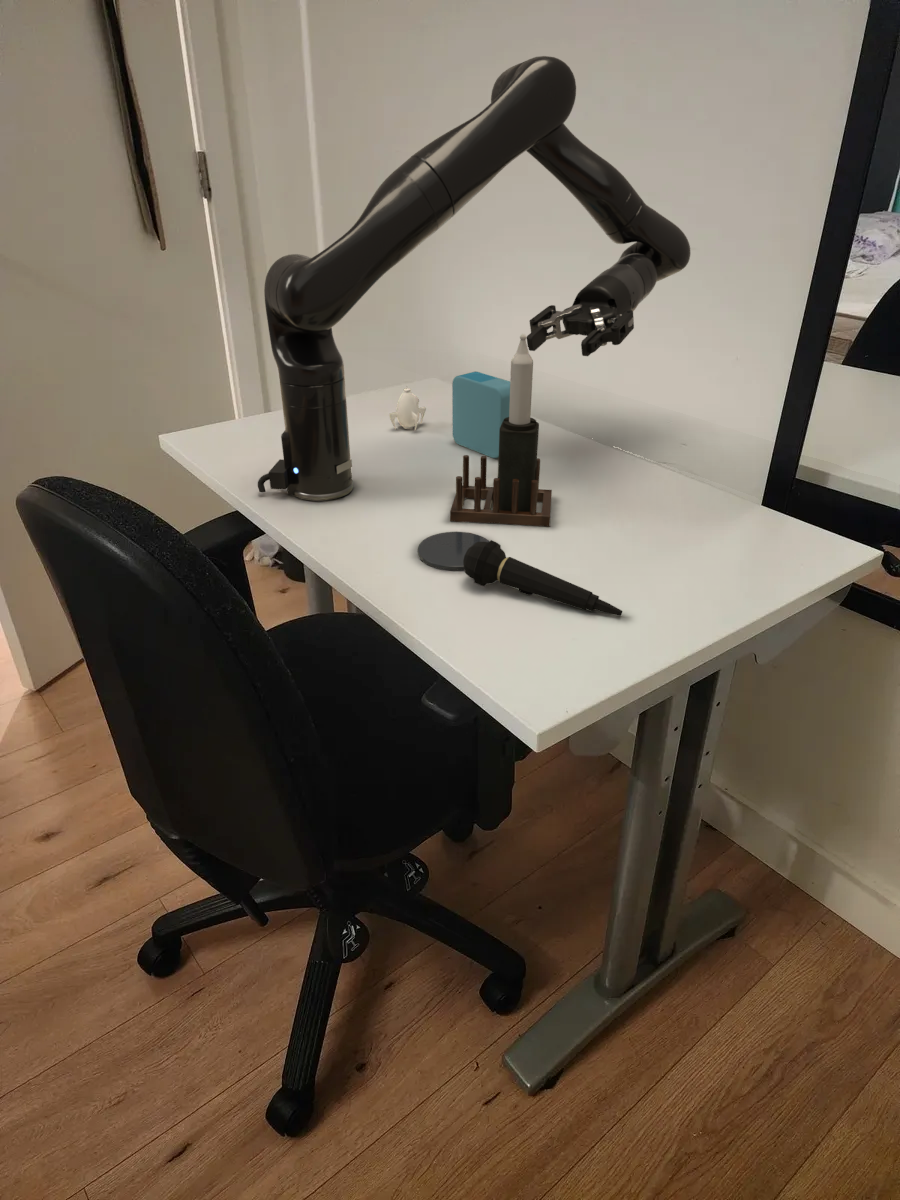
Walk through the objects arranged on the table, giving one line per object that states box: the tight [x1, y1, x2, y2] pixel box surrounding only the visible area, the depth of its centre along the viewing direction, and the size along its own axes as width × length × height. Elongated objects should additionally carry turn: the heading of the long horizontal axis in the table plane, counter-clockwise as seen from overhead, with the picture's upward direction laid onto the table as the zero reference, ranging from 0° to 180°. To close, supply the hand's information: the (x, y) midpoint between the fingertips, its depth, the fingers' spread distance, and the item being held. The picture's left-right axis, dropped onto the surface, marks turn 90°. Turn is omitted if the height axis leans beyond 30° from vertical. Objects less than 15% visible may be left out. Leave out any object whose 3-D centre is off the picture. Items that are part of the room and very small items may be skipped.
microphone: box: [463, 539, 623, 617], centre depth 94 cm, size 6×6×20 cm
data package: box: [451, 371, 510, 459], centre depth 135 cm, size 12×4×12 cm, turn 41°
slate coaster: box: [417, 531, 490, 572], centre depth 105 cm, size 10×10×1 cm
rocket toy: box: [388, 387, 427, 431], centre depth 146 cm, size 5×5×8 cm
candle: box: [497, 333, 540, 512], centre depth 110 cm, size 5×5×25 cm
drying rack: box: [449, 454, 553, 528], centre depth 115 cm, size 14×9×6 cm
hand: (556, 347), depth 111 cm, fingers open, 8 cm apart
